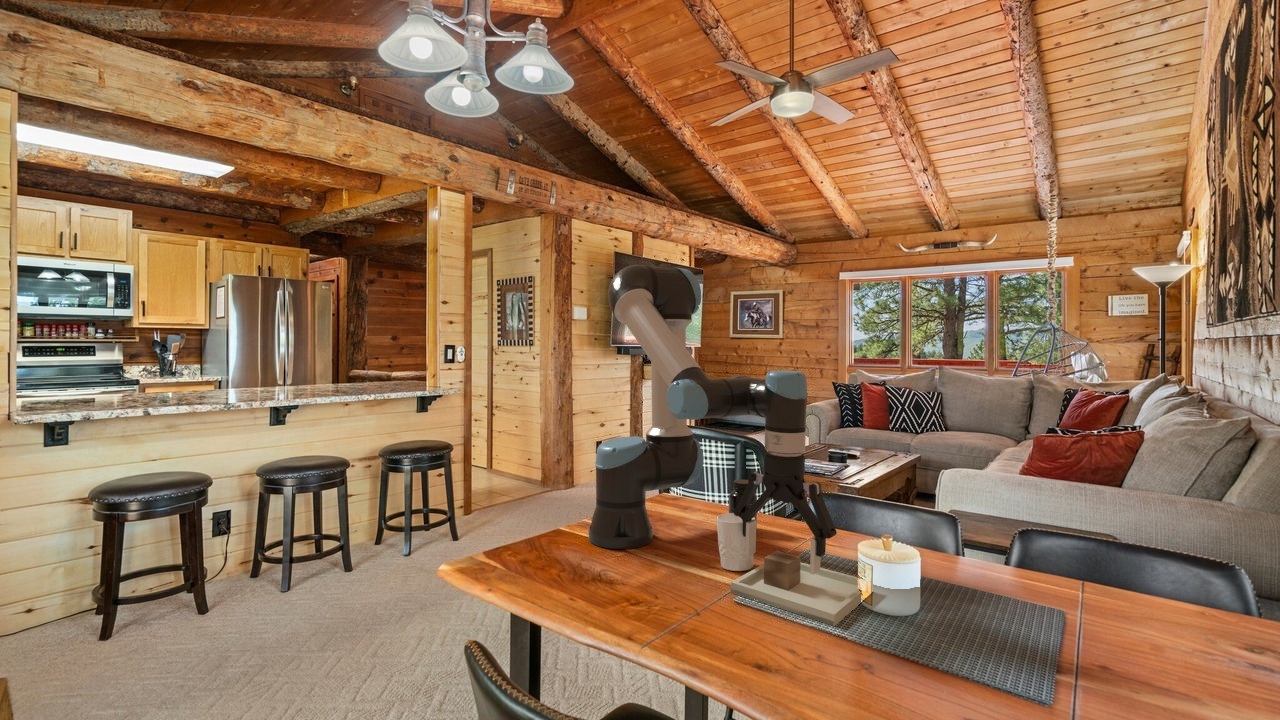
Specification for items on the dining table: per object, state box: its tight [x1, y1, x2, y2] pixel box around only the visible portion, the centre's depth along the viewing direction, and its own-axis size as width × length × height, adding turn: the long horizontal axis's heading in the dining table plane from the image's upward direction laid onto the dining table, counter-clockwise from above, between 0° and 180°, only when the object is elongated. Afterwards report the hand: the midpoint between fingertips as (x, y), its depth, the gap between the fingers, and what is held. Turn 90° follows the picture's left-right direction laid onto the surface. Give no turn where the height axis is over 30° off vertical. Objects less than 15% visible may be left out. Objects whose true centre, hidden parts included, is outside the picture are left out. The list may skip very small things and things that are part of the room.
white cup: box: [716, 512, 755, 572], centre depth 127 cm, size 8×8×10 cm
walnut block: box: [763, 550, 802, 591], centre depth 116 cm, size 5×5×5 cm
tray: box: [730, 562, 862, 627], centre depth 114 cm, size 20×18×2 cm
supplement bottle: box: [728, 479, 758, 530], centre depth 151 cm, size 7×7×12 cm
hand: (781, 562), depth 117 cm, fingers open, 13 cm apart
